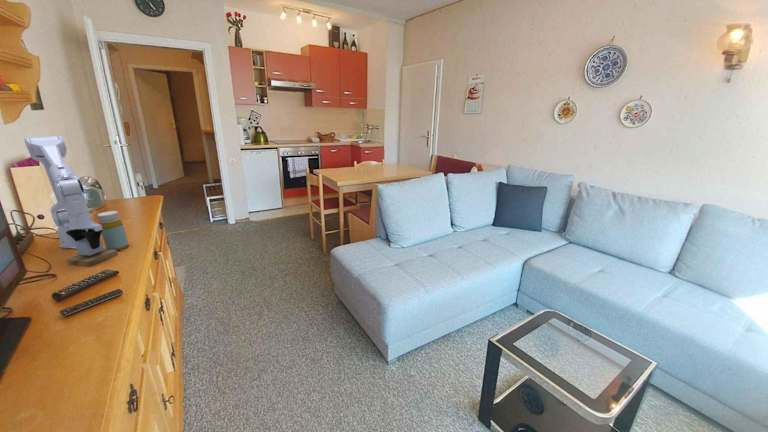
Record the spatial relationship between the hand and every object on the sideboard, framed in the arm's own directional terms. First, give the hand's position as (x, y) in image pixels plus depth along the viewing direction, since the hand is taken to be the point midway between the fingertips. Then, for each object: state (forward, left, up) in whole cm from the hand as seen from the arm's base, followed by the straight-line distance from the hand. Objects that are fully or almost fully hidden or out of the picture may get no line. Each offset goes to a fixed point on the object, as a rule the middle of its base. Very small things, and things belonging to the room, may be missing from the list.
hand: (90, 247), depth 116 cm
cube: (0, 0, -2) cm, 2 cm away
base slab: (0, 0, -5) cm, 5 cm away
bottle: (-1, +10, -5) cm, 11 cm away
